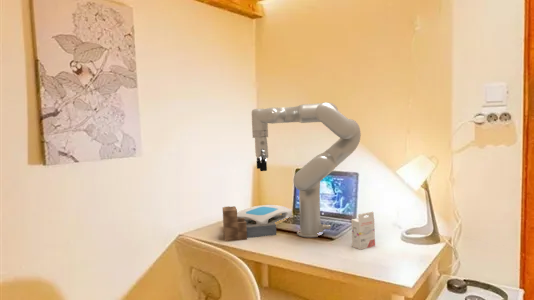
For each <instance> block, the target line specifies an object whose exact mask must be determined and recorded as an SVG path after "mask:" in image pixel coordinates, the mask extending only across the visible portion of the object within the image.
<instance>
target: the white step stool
mask: <svg viewBox="0 0 534 300" xmlns="http://www.w3.org/2000/svg"><path fill="white" fill-rule="evenodd" d="M292 216H293V210H292V209H291V208H288V207H286V206H284V205H276V204H263V205H255V206H251V207H248V208H244V209H242V210H239V211H237V219H239V218H244V219H245V222H246V225H256V224H267V223H275V222H277V221H279V220H283V219H285V218H289V217H290V218H291V217H292ZM271 218H272V219H275V220H272V221H270V222H269V219H271ZM290 218H289V219H290ZM252 221H253V222H254V221H255V223H250V222H252Z"/></svg>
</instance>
